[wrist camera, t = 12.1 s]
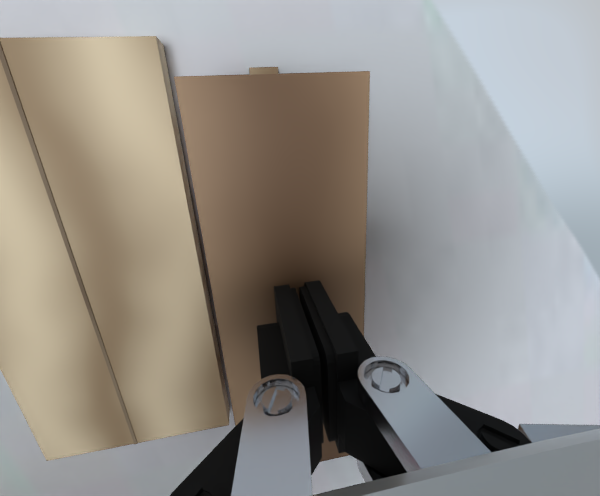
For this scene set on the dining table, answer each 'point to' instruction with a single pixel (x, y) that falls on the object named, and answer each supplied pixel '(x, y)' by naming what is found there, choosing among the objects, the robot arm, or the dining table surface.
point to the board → (101, 249)
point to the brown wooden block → (277, 199)
